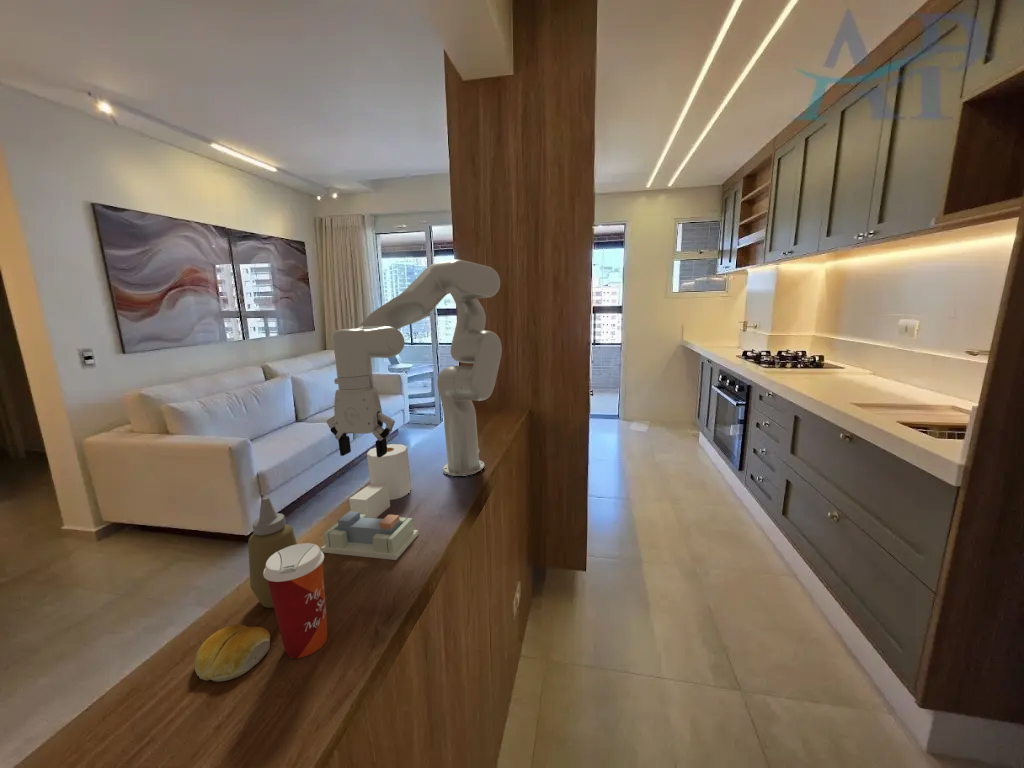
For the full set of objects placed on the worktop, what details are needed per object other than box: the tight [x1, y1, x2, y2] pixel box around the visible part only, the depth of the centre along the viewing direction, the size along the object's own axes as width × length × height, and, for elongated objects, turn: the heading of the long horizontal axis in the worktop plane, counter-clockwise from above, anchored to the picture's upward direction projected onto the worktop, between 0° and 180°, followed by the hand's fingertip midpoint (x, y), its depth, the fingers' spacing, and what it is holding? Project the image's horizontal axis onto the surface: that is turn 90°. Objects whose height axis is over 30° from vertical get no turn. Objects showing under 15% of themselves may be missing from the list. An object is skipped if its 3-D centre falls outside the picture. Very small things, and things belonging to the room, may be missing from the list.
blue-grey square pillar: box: [337, 510, 401, 544], centre depth 87 cm, size 4×12×5 cm, turn 76°
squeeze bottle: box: [247, 497, 298, 609], centre depth 70 cm, size 8×8×18 cm
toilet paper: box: [366, 443, 412, 501], centre depth 111 cm, size 10×10×12 cm
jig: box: [320, 514, 419, 561], centre depth 87 cm, size 10×17×4 cm, turn 76°
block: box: [348, 483, 391, 519], centre depth 100 cm, size 9×4×6 cm, turn 164°
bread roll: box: [194, 624, 271, 683], centre depth 58 cm, size 8×9×4 cm
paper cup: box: [263, 542, 328, 659], centre depth 60 cm, size 8×8×14 cm
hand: (363, 454), depth 98 cm, fingers open, 9 cm apart
